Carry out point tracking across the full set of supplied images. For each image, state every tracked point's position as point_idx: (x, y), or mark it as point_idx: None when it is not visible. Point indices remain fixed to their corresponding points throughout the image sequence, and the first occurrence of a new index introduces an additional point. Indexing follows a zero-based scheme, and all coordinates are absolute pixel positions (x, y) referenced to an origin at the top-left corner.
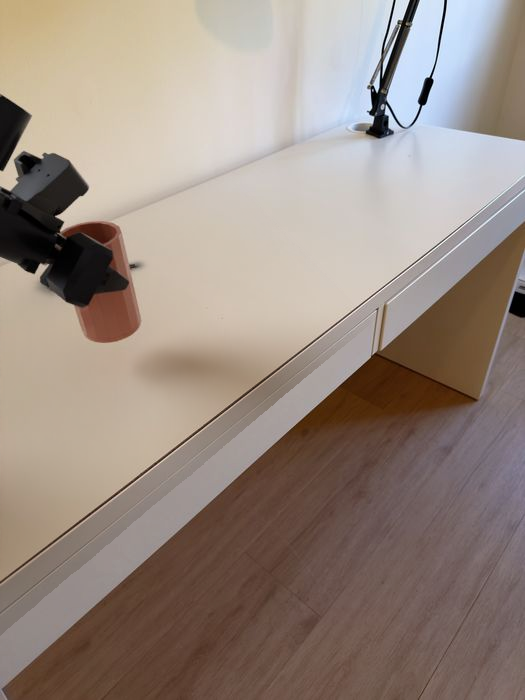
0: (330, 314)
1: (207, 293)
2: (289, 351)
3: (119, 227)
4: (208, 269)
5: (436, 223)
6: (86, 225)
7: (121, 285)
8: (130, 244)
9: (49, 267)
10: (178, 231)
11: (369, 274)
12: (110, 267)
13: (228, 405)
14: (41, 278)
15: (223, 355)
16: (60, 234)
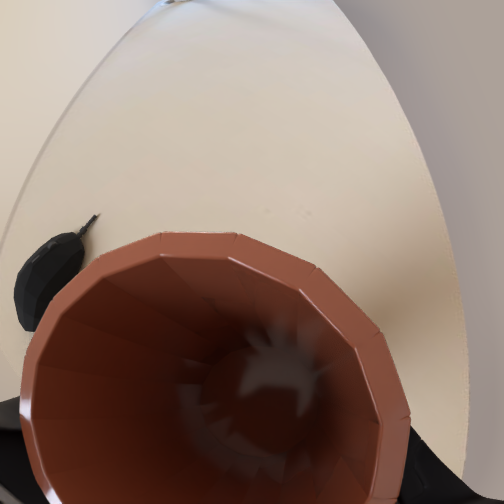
0: (401, 134)
1: (237, 187)
2: (434, 209)
3: (251, 239)
4: (193, 154)
5: (332, 22)
6: (56, 335)
7: None
8: (65, 193)
9: (17, 306)
10: (102, 139)
11: (362, 75)
12: (439, 461)
13: (466, 337)
14: (22, 324)
15: (386, 272)
16: (48, 486)
